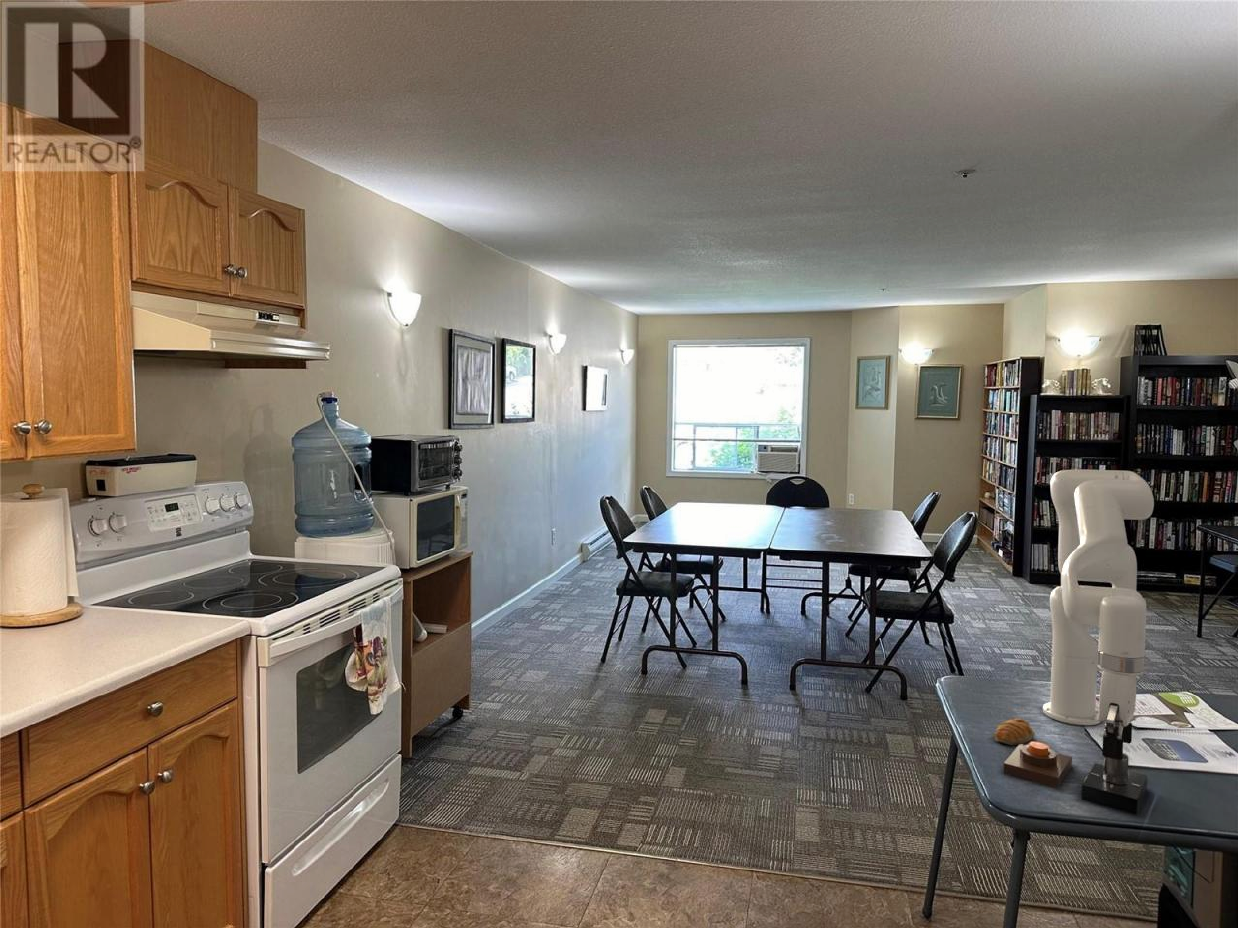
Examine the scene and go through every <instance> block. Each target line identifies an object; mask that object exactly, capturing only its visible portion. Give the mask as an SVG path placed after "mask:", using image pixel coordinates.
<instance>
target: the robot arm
mask: <svg viewBox="0 0 1238 928" xmlns="http://www.w3.org/2000/svg"><path fill="white" fill-rule="evenodd" d="M1050 497H1051V501H1052V503H1053V506H1054V509H1055V511H1056V514H1057V518H1058V544H1057V545H1058V548H1057V551H1058V552H1057V560H1058V561H1057V564H1058V571H1059V573H1060V586H1057V587H1056V588H1054V589H1053V590H1052V591H1051V592H1050V594H1049V595H1050V596H1049V609H1050V616H1051V626H1052V627H1051V628H1052V641H1051V642H1052V645H1051V671H1050V695H1049V697H1050V698H1049V701H1048V702H1045V703H1043V705H1042V712H1043V713H1044V715H1046V716H1047V717H1048V718H1051V719H1053V720H1055V721H1058V722H1061V723H1065V724H1069V725H1076V726H1094V725H1099V724H1101V723H1103V722H1105V723H1104V729H1103V735H1102V748H1101V749H1102V751H1101V752H1102V757H1103V758H1104V757H1108V758H1112V759H1116V760H1122V758H1123V753H1124V743H1125V744H1128V745H1129V744H1131V743H1132V738H1133V723H1132V720H1133V718H1134V715H1135V711H1136V703H1137V702H1136V701H1137V681H1138V680H1137V679H1138V676H1142V675H1144V673H1145V655H1146V631H1147V610H1148V609H1147V602H1146V599H1145V598H1144V597H1143V595H1142V594H1141V593H1140V592H1139V591H1137V584H1138V583H1137V580H1138V561H1137V556H1136V553H1135V550H1134V549H1133V547H1132V546H1130V544H1128V538H1127V532H1126V531H1127V530H1126V526H1125V525H1126V524H1125V521H1124V520H1129V521H1130V520H1133V521H1134V520H1135V521H1144V520H1147V519H1149V518H1150V517H1151V515H1152V514H1153V511H1154V508H1155V499H1154V495H1153V492H1152V489H1151V487H1150V485H1149V483H1148V482H1147V481H1146V480H1145V479H1144V478H1142V477H1141V476H1140V475H1139V474H1138V473H1136V472H1134V471H1131V470H1118V469H1117V470H1112V469H1111V470H1110V469H1108V470H1107V469H1065V470H1060V471H1057V472H1055V473H1054V474H1053V475H1052V477H1051V479H1050ZM1078 581H1082V582H1098V583H1109V584H1111V586H1112V587H1110V586H1109V587H1107V586H1093V585H1081V584H1080V585H1079V582H1078ZM1087 628H1098V644H1097V642H1096V640H1095V638H1094V637H1093V636H1092V634H1091V633H1089V631H1087ZM1098 669H1100V670H1101V671H1102V673H1101V678H1100V688H1099V698H1098V709H1096V705H1097V686H1098V685H1097V681H1098Z"/></svg>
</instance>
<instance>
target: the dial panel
mask: <svg viewBox="0 0 1238 928" xmlns="http://www.w3.org/2000/svg"><path fill="white" fill-rule="evenodd" d="M1103 770H1104V764H1101V763H1098V762H1094V764H1093V765H1092V767H1091V769H1090V771H1089V772H1088V774H1087V775H1086V778H1085V779H1084V781H1083V782H1082V784H1081V800H1082V801H1085V802H1088V803H1093V804H1096V805H1100V806H1103V807H1107V808H1110V809H1114V810H1117V811H1121V812H1125V813H1128V814H1132V815H1135V816H1137V815H1138V813H1139V811H1140V808H1141V806H1142V803H1143V801H1144V799H1145V796H1146V794H1147V791H1148V778H1149V777H1148V775H1145V774H1142V773H1138V772H1133V771H1129V770H1128V781H1127V784H1125V785H1117V784H1113V783H1110V782H1107V781H1106V780H1104V778H1103Z"/></svg>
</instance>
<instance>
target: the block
mask: <svg viewBox="0 0 1238 928" xmlns="http://www.w3.org/2000/svg"><path fill="white" fill-rule="evenodd" d="M1071 768H1073V756H1071V755H1066V754H1062V753H1058V752H1056V751H1055V750H1054V749H1051V748H1049V752H1048V756H1037V755H1034V754H1031V753H1029V744H1024V743H1023V744H1018V746H1017V747H1016V748H1015V749H1014V750H1013V752H1012V753H1011V754H1010V755H1009V756H1008V758H1007V759H1006V760H1005V761H1004V762H1003V774H1004V775H1008V776H1011V777H1015V778H1019V779H1023V780H1025V781H1029V782H1033V783H1037V784H1040V785H1043V786H1047V787H1052V788H1054V789H1059V788H1060V785H1061V784H1062V783H1063V781H1064V780H1065V778H1066V776H1067V775H1068V773H1069V772H1070V770H1071Z"/></svg>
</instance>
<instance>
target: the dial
mask: <svg viewBox="0 0 1238 928" xmlns="http://www.w3.org/2000/svg"><path fill="white" fill-rule="evenodd" d="M1129 758H1130V757H1129V755H1127V754H1126V753H1124V752H1123V758H1122V760H1116V759H1112V758H1108V757H1104V756H1103V765H1104V770H1103V778H1104V780H1106V781H1107V782H1110V783H1113V784H1117V785H1125V784H1127V781H1128V771H1129Z"/></svg>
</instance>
